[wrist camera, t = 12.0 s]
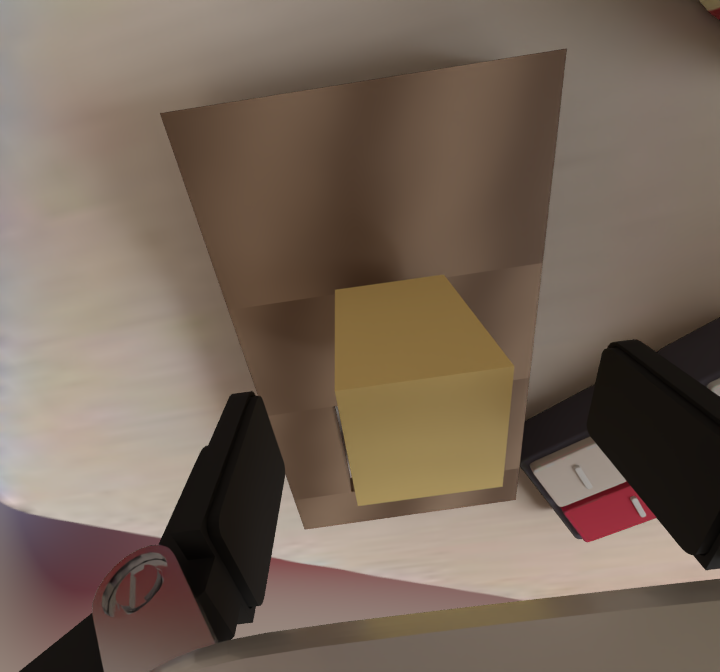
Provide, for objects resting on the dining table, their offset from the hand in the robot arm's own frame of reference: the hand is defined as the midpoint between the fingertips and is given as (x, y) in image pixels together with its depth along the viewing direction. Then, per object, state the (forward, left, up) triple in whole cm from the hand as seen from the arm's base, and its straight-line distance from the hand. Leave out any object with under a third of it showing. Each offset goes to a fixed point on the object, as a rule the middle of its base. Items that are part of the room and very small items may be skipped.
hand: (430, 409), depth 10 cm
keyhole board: (0, +3, -10) cm, 11 cm away
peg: (0, 0, -10) cm, 10 cm away
